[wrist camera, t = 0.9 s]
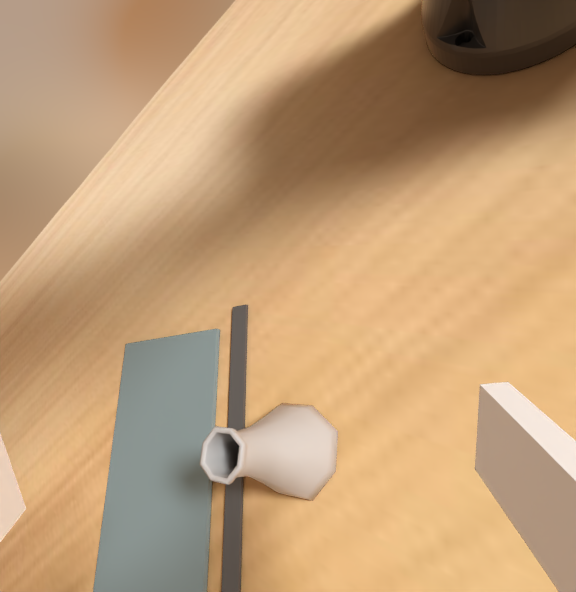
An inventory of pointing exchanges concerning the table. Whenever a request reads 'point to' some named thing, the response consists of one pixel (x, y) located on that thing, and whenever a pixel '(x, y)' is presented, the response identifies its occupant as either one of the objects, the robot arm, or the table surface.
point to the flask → (275, 451)
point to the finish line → (235, 489)
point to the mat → (160, 468)
